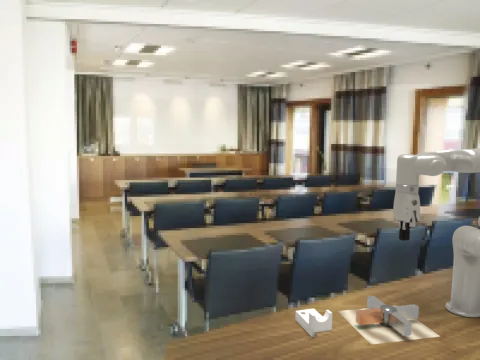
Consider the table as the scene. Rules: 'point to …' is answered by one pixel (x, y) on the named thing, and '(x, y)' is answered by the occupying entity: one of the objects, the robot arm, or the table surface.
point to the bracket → (314, 321)
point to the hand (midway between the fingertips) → (404, 239)
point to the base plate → (387, 330)
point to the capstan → (388, 315)
